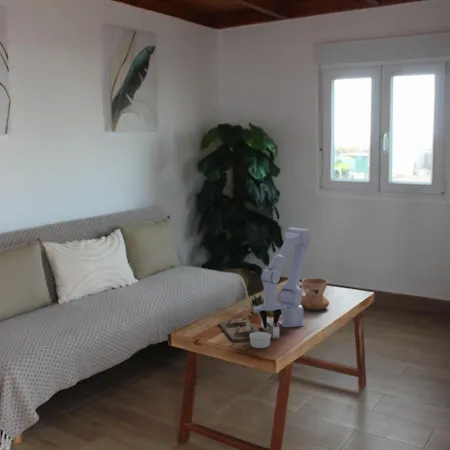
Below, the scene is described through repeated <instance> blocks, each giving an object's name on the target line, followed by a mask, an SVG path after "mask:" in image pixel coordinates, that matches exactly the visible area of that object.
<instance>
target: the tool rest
mask: <svg viewBox="0 0 450 450" xmlns="http://www.w3.org/2000/svg"><path fill="white" fill-rule="evenodd" d="M218 325H219V327H220V328H221V330H222V331H223V332H224V333H225V335H227V337H228V338H229V339H230V341H231V342H232V343H240V342H250V337H249V335H250V334H251V333H253V332H261V331H260V330H259V329H258V328H257V327H256V326H255V325H254V324H253V323H252V322H251V320H249V319H245V316H242V318H235V319H234V318H232V317H229V318H228V319H227V321H219V322H218Z"/></svg>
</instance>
